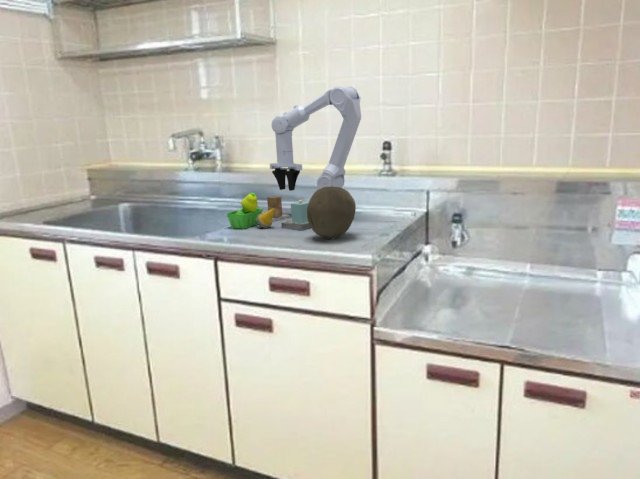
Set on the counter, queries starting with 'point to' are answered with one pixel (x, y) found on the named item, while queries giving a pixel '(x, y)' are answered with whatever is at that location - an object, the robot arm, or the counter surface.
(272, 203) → the brown tall block
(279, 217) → the track
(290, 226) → the press bed
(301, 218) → the block
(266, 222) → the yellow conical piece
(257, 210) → the fruit basket
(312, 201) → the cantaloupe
